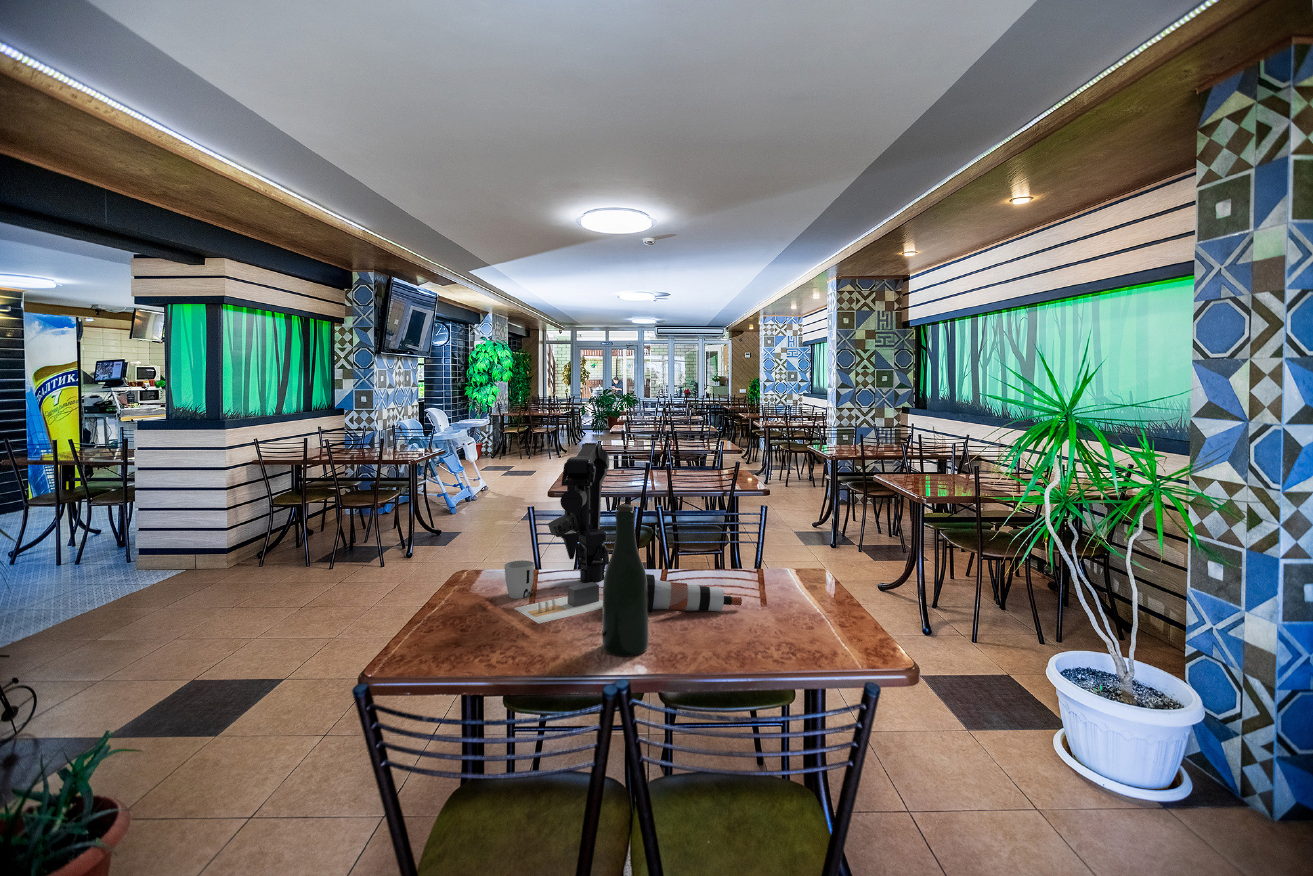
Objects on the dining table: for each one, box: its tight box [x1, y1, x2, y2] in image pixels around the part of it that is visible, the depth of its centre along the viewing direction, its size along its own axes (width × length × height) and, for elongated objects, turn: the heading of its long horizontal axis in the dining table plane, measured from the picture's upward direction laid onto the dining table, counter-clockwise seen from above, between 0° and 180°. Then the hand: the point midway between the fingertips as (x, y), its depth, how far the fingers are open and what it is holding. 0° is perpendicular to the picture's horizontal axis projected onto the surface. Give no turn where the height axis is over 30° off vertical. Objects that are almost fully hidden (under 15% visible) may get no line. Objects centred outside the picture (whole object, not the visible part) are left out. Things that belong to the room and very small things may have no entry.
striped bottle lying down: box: [646, 573, 743, 613], centre depth 173 cm, size 10×34×10 cm, turn 92°
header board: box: [513, 595, 603, 625], centre depth 173 cm, size 22×14×4 cm, turn 127°
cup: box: [503, 559, 535, 600], centre depth 182 cm, size 8×8×10 cm
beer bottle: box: [601, 503, 649, 657], centre depth 147 cm, size 10×10×33 cm
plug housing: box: [567, 582, 600, 607], centre depth 176 cm, size 8×3×4 cm, turn 127°
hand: (579, 562), depth 176 cm, fingers open, 9 cm apart
